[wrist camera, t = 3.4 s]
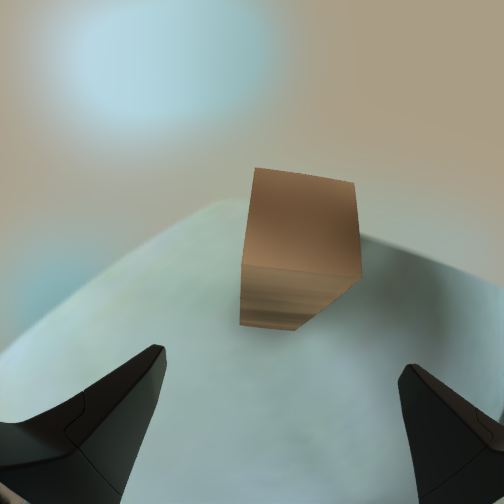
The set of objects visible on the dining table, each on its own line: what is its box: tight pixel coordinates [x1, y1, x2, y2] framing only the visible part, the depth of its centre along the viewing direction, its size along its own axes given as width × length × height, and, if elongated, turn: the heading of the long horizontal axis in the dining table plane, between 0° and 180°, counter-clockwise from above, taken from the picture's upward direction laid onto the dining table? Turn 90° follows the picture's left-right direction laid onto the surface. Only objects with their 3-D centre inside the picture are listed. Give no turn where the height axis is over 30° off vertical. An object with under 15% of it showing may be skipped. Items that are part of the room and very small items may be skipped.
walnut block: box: [240, 168, 362, 331], centre depth 16 cm, size 4×4×13 cm
